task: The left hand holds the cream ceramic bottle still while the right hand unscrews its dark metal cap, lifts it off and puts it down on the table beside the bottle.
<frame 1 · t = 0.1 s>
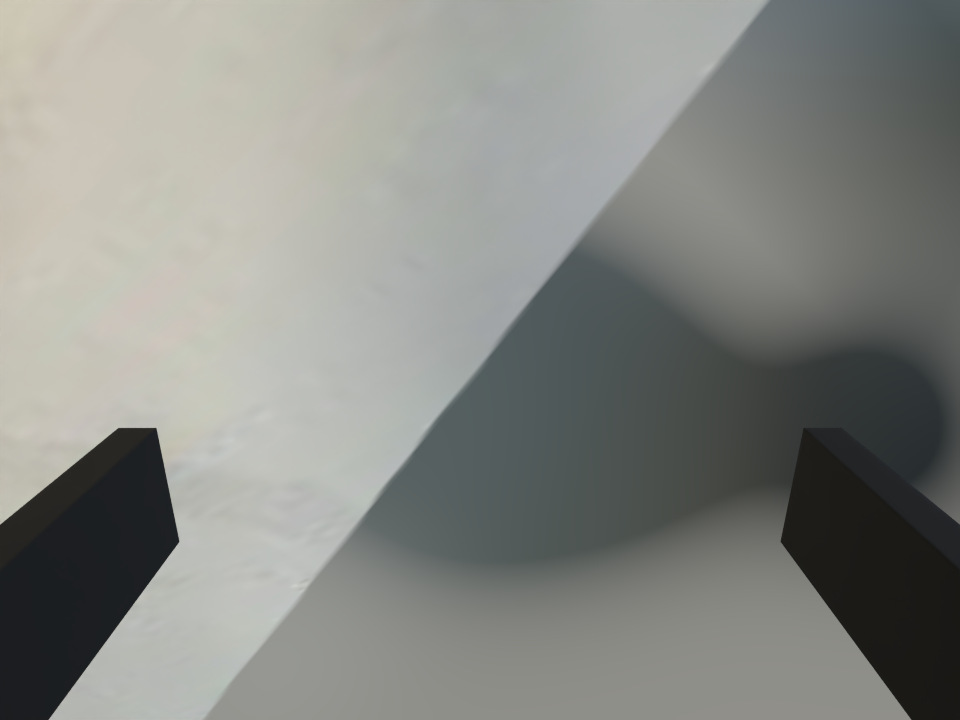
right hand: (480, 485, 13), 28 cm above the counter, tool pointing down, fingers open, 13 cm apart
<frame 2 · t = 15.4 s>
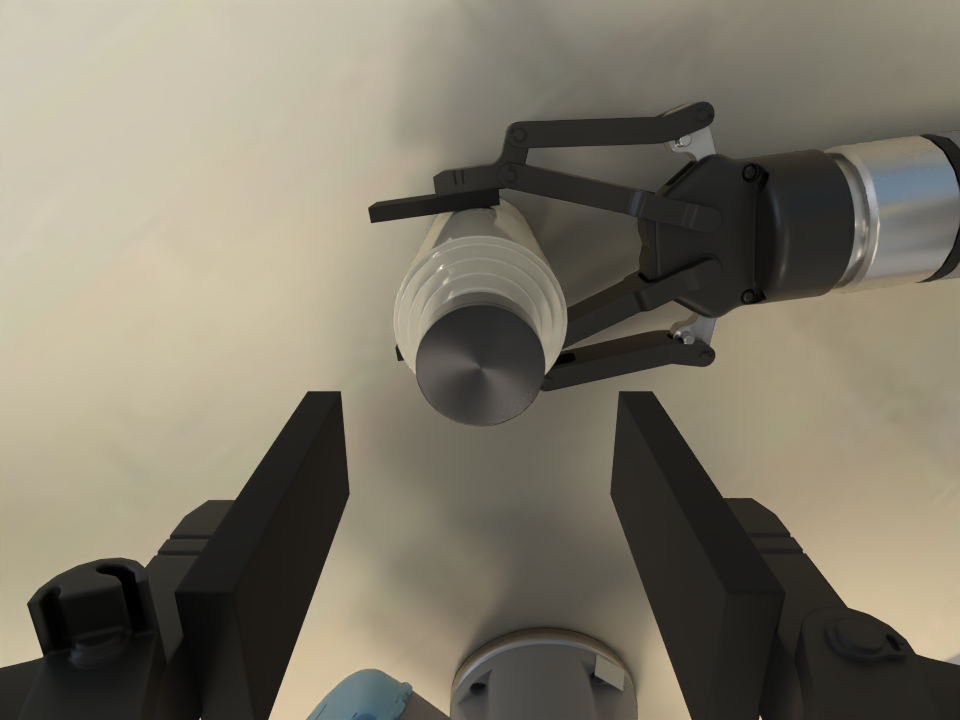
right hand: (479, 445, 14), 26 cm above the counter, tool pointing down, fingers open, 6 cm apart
left hand: (388, 281, 33), fingers closed on bottle, 7 cm apart
cap: (480, 364, 19), point 21 cm above the counter, screwed on, not yet turned
bottle: (480, 249, 39), on the counter, touching left hand
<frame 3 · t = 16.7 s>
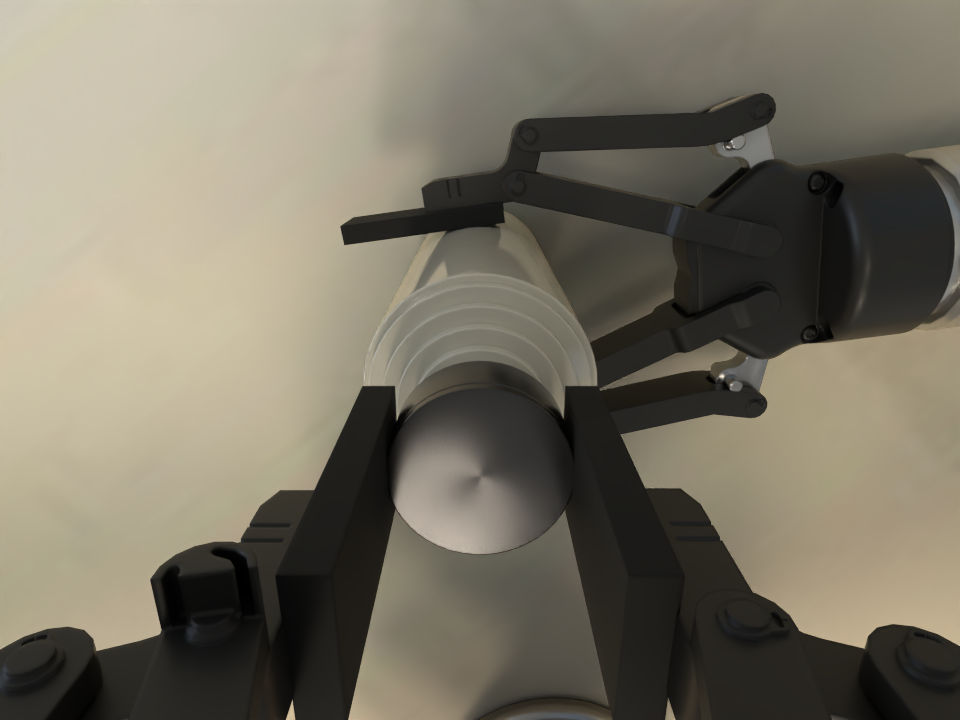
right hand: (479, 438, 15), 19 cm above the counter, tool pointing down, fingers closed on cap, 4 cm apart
left hand: (367, 314, 27), fingers closed on bottle, 7 cm apart
cap: (480, 469, 13), point 21 cm above the counter, screwed on, not yet turned, touching right hand
bottle: (480, 270, 33), on the counter, touching left hand
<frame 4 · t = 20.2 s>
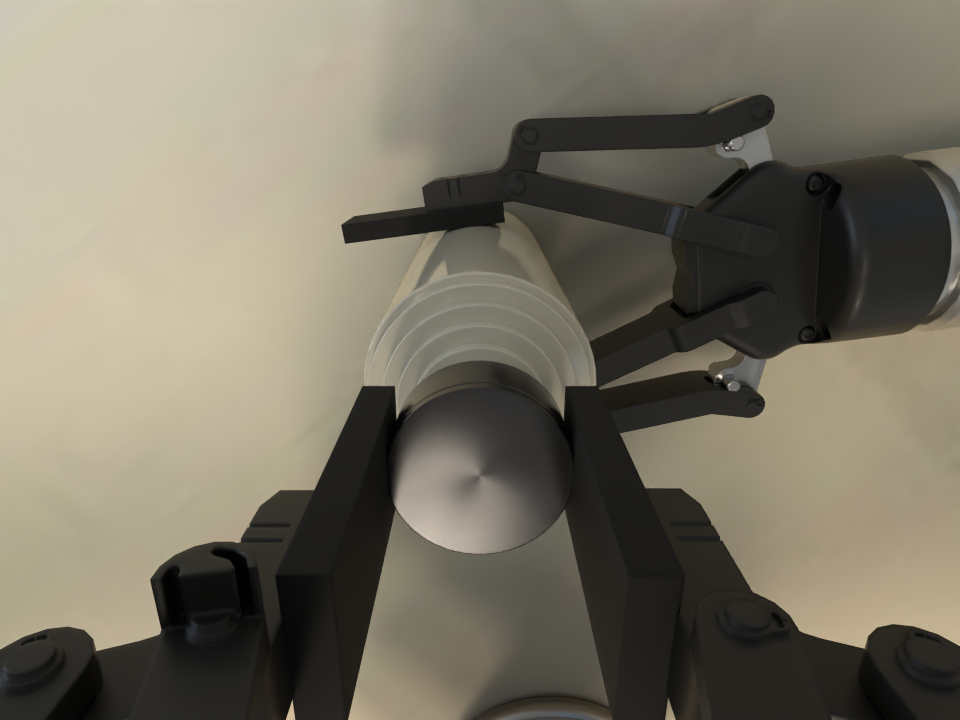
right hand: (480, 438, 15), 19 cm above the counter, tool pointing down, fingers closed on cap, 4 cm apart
left hand: (367, 313, 27), fingers closed on bottle, 7 cm apart
cap: (480, 468, 13), point 21 cm above the counter, turned 132° so far, risen 0.1 cm, still on its thread, touching right hand
bottle: (479, 269, 33), on the counter, touching left hand
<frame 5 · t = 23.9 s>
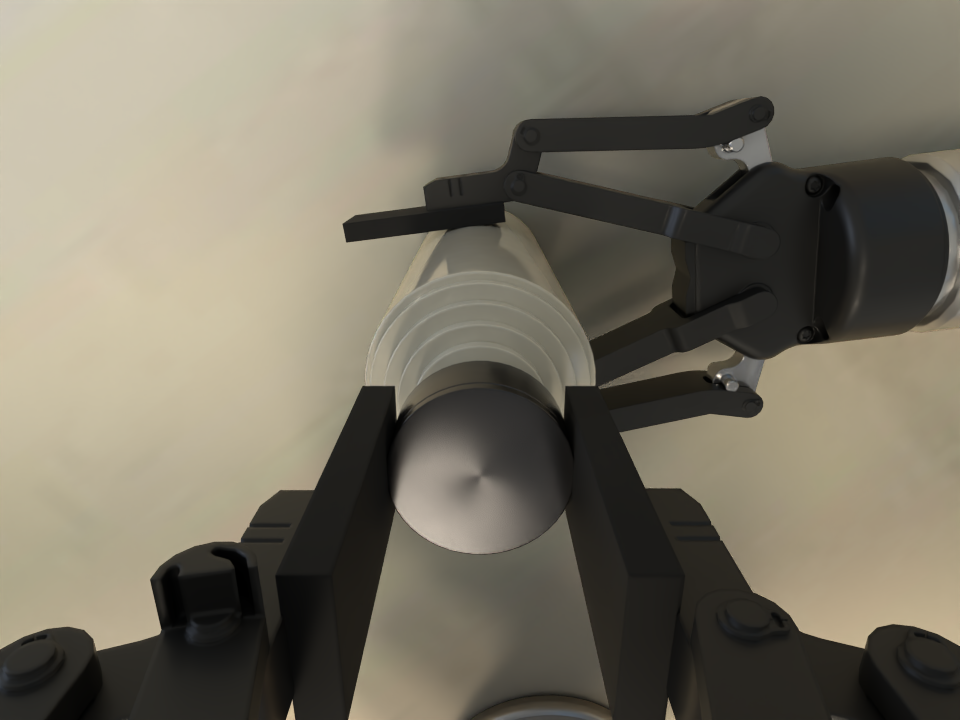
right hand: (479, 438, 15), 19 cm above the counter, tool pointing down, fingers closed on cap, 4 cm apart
left hand: (368, 312, 27), fingers closed on bottle, 7 cm apart
cap: (480, 468, 13), point 21 cm above the counter, turned 264° so far, risen 0.3 cm, still on its thread, touching right hand
bottle: (480, 269, 33), on the counter, touching left hand
when the right hand's fingers open (2 cm above the counter, at t = 31.4 s): cap drops 2 cm, point 1 cm above the counter.
when the left hand's fingers open (6 cm above the counter, at t = 32.7 s): bottle stays where it is, on the counter.
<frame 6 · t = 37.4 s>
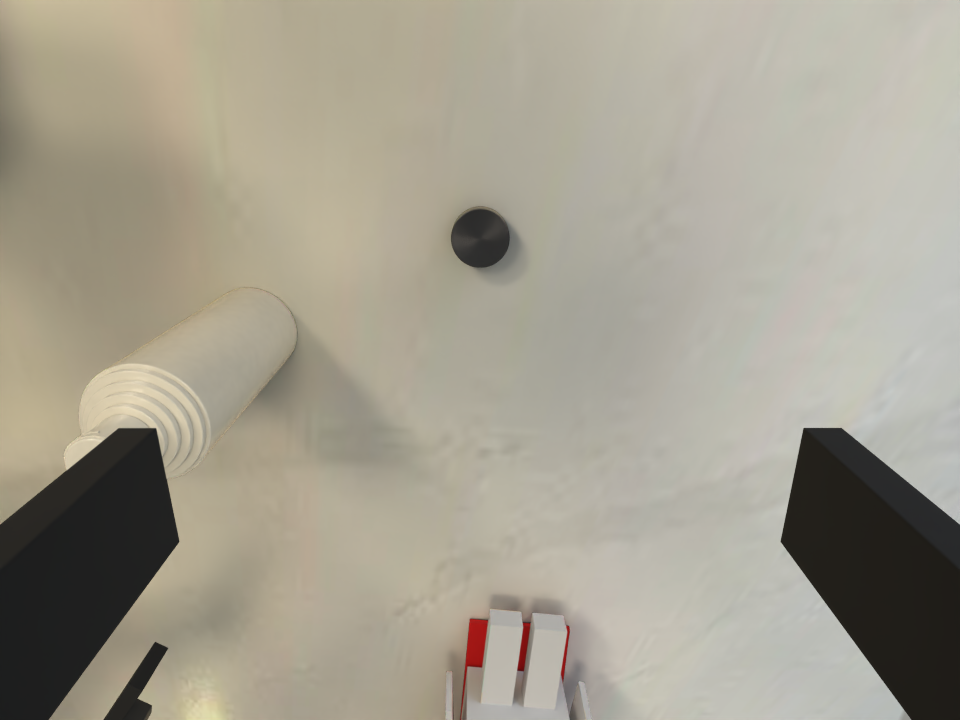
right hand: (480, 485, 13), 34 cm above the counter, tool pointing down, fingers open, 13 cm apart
toy: (502, 709, 60), on the counter
cap: (480, 238, 43), point 1 cm above the counter, off its thread
bottle: (253, 330, 47), on the counter
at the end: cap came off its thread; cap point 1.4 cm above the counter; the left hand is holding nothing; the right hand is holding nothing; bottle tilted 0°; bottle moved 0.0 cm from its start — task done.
